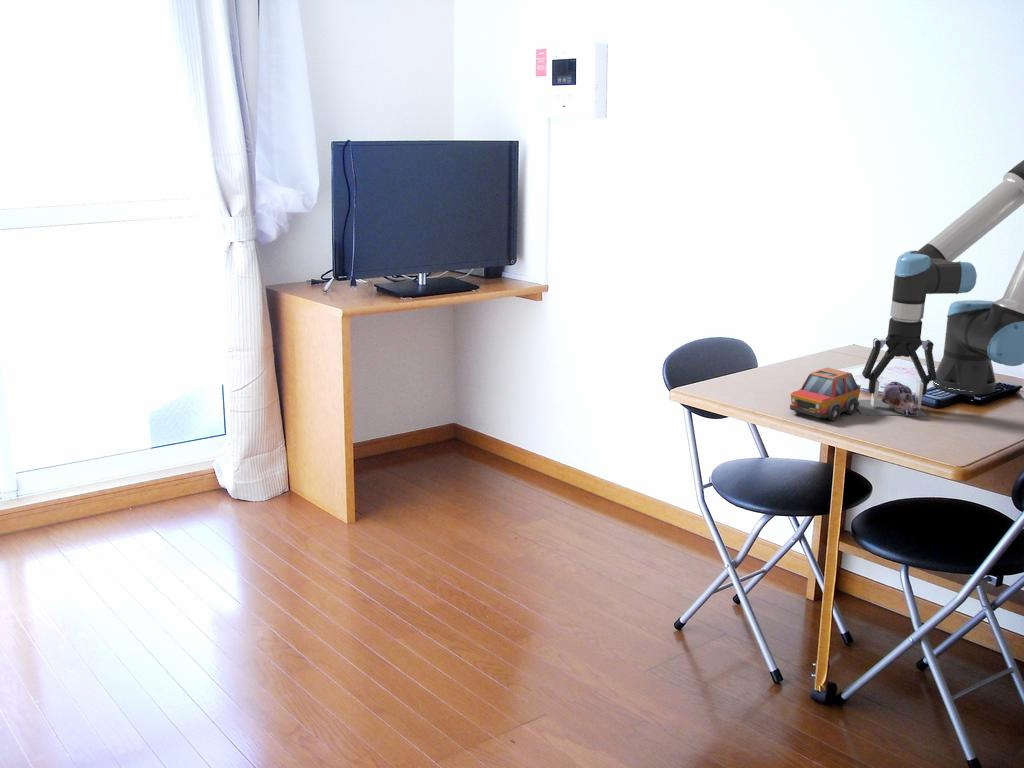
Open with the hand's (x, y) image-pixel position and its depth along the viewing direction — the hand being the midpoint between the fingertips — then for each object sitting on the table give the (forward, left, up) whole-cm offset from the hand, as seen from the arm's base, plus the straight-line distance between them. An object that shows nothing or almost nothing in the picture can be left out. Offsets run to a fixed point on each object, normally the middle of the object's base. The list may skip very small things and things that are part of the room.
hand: (895, 406), depth 259 cm
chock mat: (+2, -1, -1) cm, 2 cm away
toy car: (+18, +3, -1) cm, 18 cm away
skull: (-1, +2, -1) cm, 2 cm away
